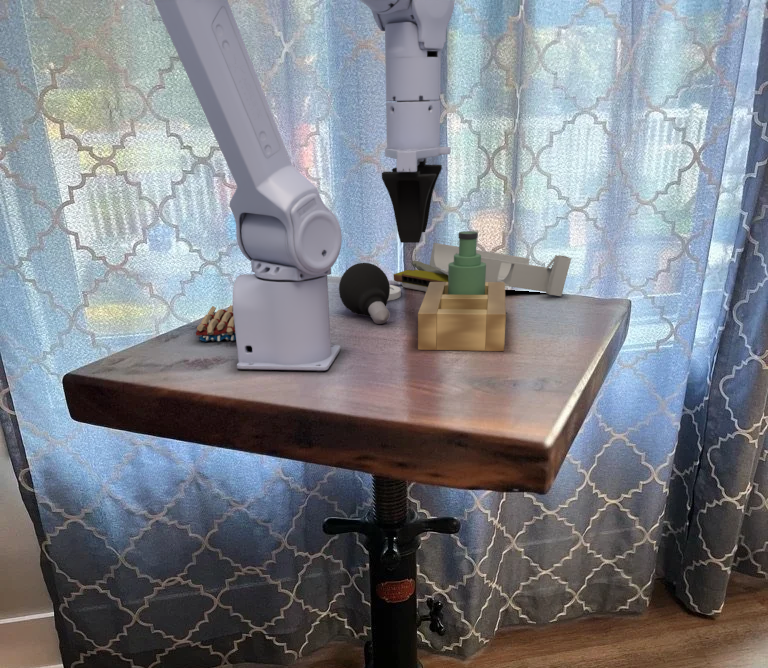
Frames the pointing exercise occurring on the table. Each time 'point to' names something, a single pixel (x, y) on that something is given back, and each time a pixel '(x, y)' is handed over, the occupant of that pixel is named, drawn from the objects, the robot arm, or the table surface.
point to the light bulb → (366, 291)
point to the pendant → (394, 292)
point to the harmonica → (419, 279)
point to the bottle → (467, 268)
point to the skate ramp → (510, 269)
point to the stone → (425, 267)
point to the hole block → (462, 319)
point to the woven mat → (217, 325)
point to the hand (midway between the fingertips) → (413, 237)
